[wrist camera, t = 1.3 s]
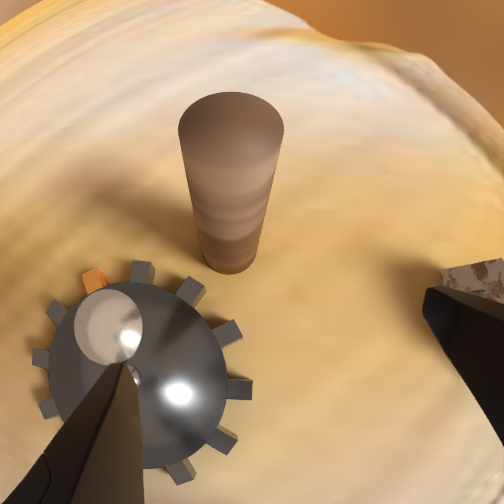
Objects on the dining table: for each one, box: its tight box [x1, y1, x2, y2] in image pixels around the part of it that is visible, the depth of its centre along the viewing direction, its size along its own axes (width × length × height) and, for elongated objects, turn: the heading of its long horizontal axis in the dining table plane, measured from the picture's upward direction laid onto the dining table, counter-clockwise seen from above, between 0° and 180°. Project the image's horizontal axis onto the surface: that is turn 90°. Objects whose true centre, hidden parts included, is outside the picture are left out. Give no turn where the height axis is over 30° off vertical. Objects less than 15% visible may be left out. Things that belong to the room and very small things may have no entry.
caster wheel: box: [441, 258, 504, 304], centre depth 20 cm, size 7×11×10 cm
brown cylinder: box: [178, 92, 284, 275], centre depth 17 cm, size 4×4×13 cm
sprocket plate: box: [32, 261, 253, 485], centre depth 19 cm, size 16×16×2 cm
